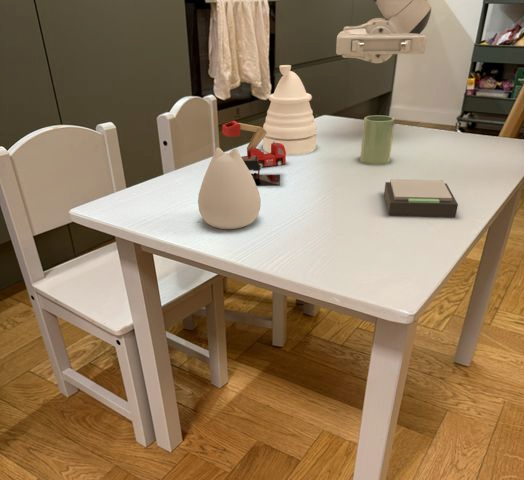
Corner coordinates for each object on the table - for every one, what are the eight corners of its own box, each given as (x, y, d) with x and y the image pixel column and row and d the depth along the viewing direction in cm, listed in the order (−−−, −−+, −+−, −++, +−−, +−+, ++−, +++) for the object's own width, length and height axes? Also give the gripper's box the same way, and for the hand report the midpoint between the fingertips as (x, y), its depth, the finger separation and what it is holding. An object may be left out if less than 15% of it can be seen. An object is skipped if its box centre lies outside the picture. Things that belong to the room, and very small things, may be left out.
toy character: (265, 212, 88) (264, 140, 81) (255, 236, 80) (253, 158, 72) (208, 210, 89) (202, 139, 82) (192, 233, 81) (184, 156, 74)
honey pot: (295, 159, 115) (296, 70, 104) (252, 150, 122) (249, 66, 111) (325, 147, 123) (330, 63, 112) (284, 139, 130) (284, 60, 119)
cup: (388, 158, 114) (393, 115, 109) (390, 166, 109) (395, 121, 104) (359, 157, 115) (363, 115, 110) (360, 165, 110) (364, 121, 104)
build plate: (279, 176, 105) (280, 153, 102) (280, 188, 99) (280, 163, 96) (220, 176, 105) (219, 153, 102) (217, 188, 99) (216, 164, 96)
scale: (444, 196, 93) (447, 179, 91) (455, 218, 84) (459, 200, 82) (383, 195, 94) (385, 178, 92) (388, 217, 85) (390, 199, 83)
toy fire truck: (287, 165, 111) (288, 118, 105) (228, 173, 107) (226, 124, 101) (282, 161, 113) (282, 115, 108) (224, 169, 109) (221, 121, 104)
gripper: (420, 56, 121) (428, 63, 110) (335, 56, 123) (335, 64, 112) (425, 25, 117) (433, 29, 106) (337, 26, 120) (337, 30, 109)
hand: (382, 47), depth 109 cm, fingers open, 8 cm apart
